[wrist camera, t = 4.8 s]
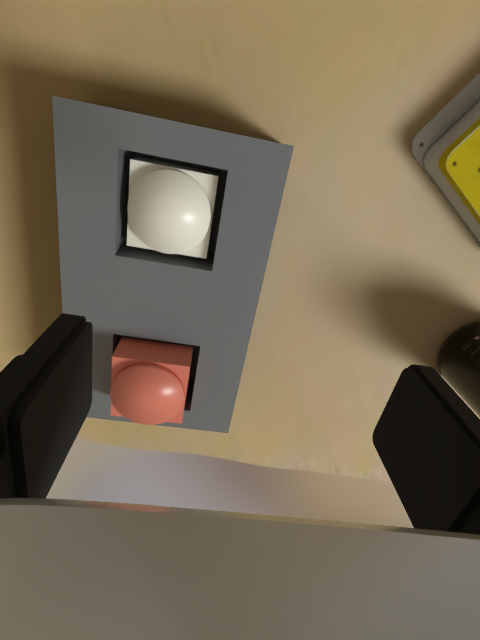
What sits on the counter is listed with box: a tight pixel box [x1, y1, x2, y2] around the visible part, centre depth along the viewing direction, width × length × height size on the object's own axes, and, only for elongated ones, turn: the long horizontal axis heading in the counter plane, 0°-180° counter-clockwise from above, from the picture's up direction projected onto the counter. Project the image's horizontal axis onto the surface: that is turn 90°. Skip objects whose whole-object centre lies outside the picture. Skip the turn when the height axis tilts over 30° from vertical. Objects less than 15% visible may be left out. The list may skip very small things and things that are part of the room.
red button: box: [110, 337, 193, 425], centre depth 26 cm, size 5×5×3 cm
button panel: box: [52, 95, 294, 433], centre depth 26 cm, size 22×13×5 cm, turn 169°
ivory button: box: [127, 157, 219, 259], centre depth 23 cm, size 5×5×3 cm
